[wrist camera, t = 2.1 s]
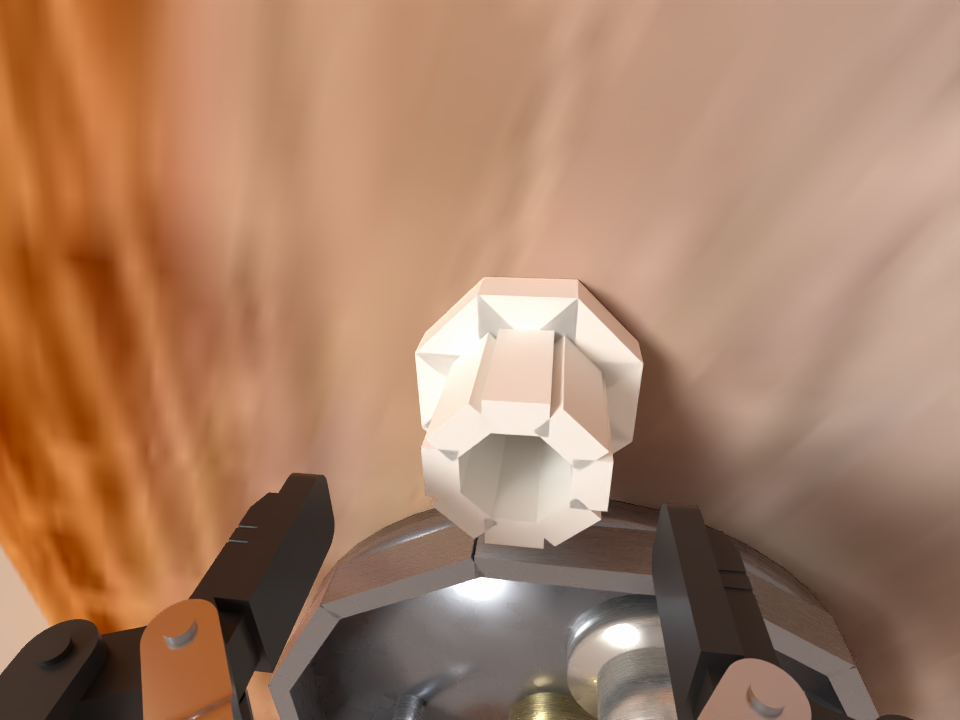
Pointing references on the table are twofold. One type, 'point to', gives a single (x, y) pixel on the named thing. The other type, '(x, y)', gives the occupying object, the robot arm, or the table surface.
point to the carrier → (525, 629)
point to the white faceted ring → (525, 409)
